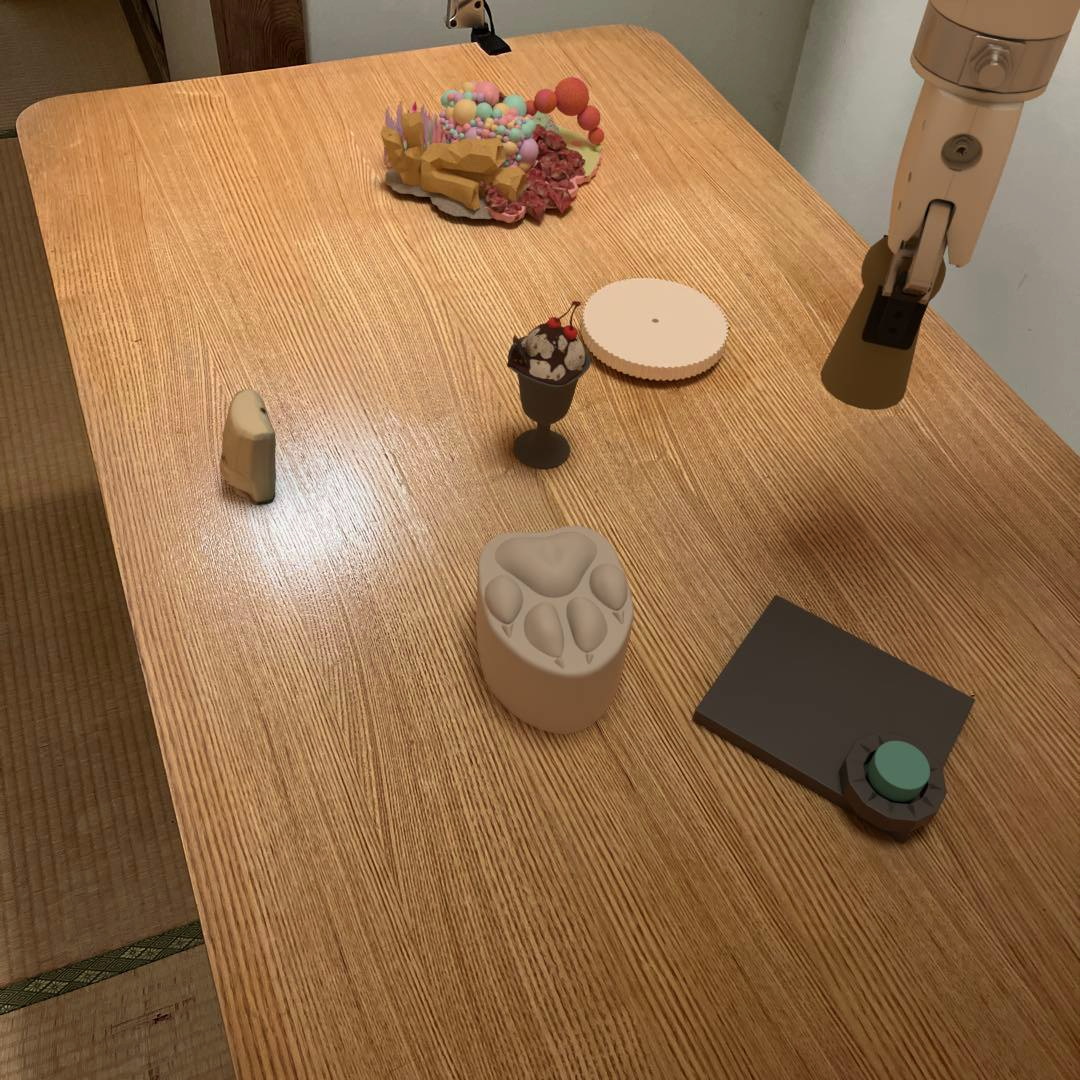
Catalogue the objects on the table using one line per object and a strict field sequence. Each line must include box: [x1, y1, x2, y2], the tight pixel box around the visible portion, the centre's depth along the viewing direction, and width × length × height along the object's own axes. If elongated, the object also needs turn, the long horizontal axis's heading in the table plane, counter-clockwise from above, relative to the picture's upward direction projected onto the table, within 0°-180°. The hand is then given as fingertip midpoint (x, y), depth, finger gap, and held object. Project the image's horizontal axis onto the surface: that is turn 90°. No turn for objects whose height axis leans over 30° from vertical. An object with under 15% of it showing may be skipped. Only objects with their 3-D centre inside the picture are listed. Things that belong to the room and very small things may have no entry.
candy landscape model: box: [380, 76, 605, 224], centre depth 121 cm, size 25×24×9 cm
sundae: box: [506, 300, 592, 469], centre depth 88 cm, size 7×7×15 cm
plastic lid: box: [580, 277, 729, 382], centre depth 104 cm, size 14×14×2 cm
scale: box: [691, 594, 976, 845], centre depth 76 cm, size 17×14×3 cm
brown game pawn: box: [820, 236, 947, 411], centre depth 72 cm, size 6×6×11 cm
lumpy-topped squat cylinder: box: [475, 525, 635, 735], centre depth 76 cm, size 10×13×9 cm
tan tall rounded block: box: [219, 388, 277, 506], centre depth 86 cm, size 6×5×8 cm
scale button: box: [867, 741, 930, 802], centre depth 70 cm, size 4×4×2 cm
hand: (888, 314), depth 72 cm, fingers closed on brown game pawn, 5 cm apart
